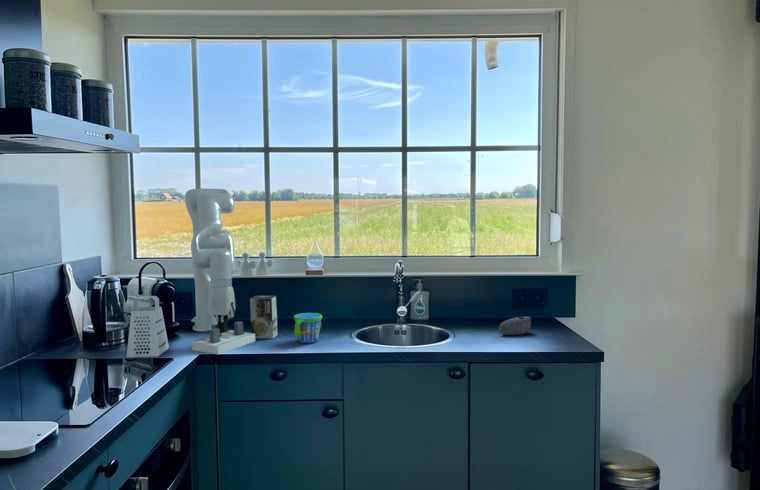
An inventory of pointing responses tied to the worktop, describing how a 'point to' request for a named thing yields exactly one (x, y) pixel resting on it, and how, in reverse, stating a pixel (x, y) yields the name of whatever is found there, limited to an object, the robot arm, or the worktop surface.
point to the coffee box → (264, 316)
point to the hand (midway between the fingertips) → (222, 332)
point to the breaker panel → (223, 342)
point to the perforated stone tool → (515, 326)
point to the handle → (214, 335)
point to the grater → (147, 330)
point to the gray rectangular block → (238, 328)
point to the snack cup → (307, 327)
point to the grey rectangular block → (215, 327)
